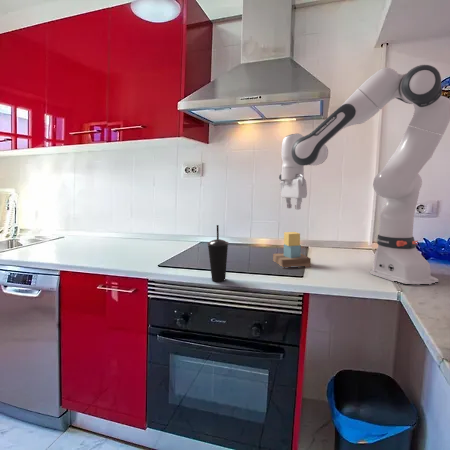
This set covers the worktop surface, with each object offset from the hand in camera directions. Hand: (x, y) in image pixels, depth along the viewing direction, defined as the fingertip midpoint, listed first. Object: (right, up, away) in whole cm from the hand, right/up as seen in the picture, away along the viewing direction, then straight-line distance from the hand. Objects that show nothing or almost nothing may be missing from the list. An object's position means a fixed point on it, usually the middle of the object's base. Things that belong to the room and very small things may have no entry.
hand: (293, 208), depth 132 cm
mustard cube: (0, -15, +2) cm, 15 cm away
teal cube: (0, -20, +3) cm, 20 cm away
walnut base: (0, -24, +4) cm, 24 cm away
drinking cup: (-31, -27, -17) cm, 44 cm away
